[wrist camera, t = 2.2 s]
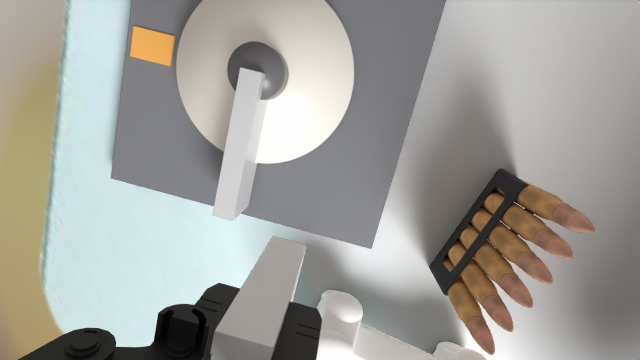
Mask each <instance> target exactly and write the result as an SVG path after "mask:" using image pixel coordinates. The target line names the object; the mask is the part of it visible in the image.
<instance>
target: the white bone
mask: <svg viewBox="0 0 640 360" xmlns="http://www.w3.org/2000/svg"><path fill="white" fill-rule="evenodd" d="M316 309H318V311H319V313H320V315H321V318H322V325H321V331H320V338H319V345H318V352H317V359H316V360H487V359H486V358H485V357H484V356H483V355H482V354H480V353H478V352H477V351H474V350H471V349H467V348H463V347H461V346H459V345H457V344H455V343H451V342H441V343H439V344H438V345H437V349H436V351H435V352H434V353H433V355H432V354H430V353H428V352H425V351H423V350H421V349H419V348H416V347H414V346H412V345H410V344H408V343H405V342H403V341H401V340H399V339H397V338H394V337H392V336H390V335H388V334H385V333H383V332H381V331H379V330H377V329H374V328H372V327H370V326H368V325H366V324H363V323H361V319H362V316H363V309H362V306H361V304H360V302H359V301H358V300H357V299H356V298H355V297H353V296H352V295H350V294H348V293H345V292H340V291H336V290H327V291H325V292H323V294H322V296H321V300H320V302H319V304H318V306H317V308H316Z"/></svg>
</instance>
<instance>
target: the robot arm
mask: <svg viewBox="0 0 640 360" xmlns="http://www.w3.org/2000/svg"><path fill="white" fill-rule="evenodd" d="M306 247H307V245H305V244H301V243H297V242H294V241H290V240H286V239H282V238H279V237H275V236H273V237H272V238H271V240H270V242H269V243H268V245H267V246H266V248H265V250H264V251H263V253H262V255H261V256H260V258H259V259H258V261H257V263H256V264H255V266H254V268H253V269H252V271H251V273H250V274H249V276H248V277H247V279H246V281H245V282H244V284H243V286H242V287H241V289H239V288H236V287H232V286H229V285H225V284H221V283H218V284H216V285H214V286H212V287H210V288H208V289H207V290H206V291H205V292H204V294H203V295H202V296H201V297H200V299H199V300H198V301H197V302H196V304H195V305H190V304H177V305H173V306H170V307H166V308H165V309H163V310H162V311H160V312H159V313H158V319H157V325H156V331H155V337H154V342H153V343H152V344H151V345H150V346H146V347H116V341H115V337H114V336H113V335H112V334H111V333H110V332H109V331H106V330H103V329H100V328H83V329H78V330H74V331H71V332H69V333H66V334H64V335H62V336H60V337H58V338H56V339H55V340H53V341H51V342H49V343H47V344H46V345H44V346H42V347H40V348H38V349H37V350H35V351H33V352H31V353H29V354H27V355H26V356H24V357H22V358H20V359H18V360H316V359H317V352H318V345H319V338H320V331H321V325H322V318H321V315H320V313H319V311H318V309H316V308H312V307H309V306H305V305H301V304H298V303H294V302H293V298H294V294H295V290H296V286H297V282H298V278H299V275H300V271H301V267H302V263H303V259H304V255H305V251H306Z"/></svg>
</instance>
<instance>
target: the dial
mask: <svg viewBox="0 0 640 360" xmlns="http://www.w3.org/2000/svg"><path fill="white" fill-rule="evenodd" d="M176 75H177V83H178V89H179V92H180V96H181V99H182V102H183V104H184V107H185V109H186V111H187V113H188V115H189V117H190V119H191V120H192V122H193V123H194V125H195V126H196V127H197V129H198V130H199V131H200V132H201V133H202V135H203V136H204V137H205V138H206V139H207V140H208V141H210V142H211V143H212V144H213V145H214V146H216V147H217V148H219V149H220V150H222V151H223V152H224V156H223V162H222V167H221V172H220V178H219V183H218V188H217V193H216V199H215V204H214V209H213V216H217V217H220V218H224V219H228V220H231V221H233V220H234V219H235V218H236V217H237V216H238V215H239V214H240V213H242V212H243V211H244V210H245V209H246V208H247V207H248V205H249V200H250V195H251V190H252V186H253V181H254V176H255V172H256V167H257V163H264V164H270V163H281V162H286V161H290V160H293V159H296V158H299V157H301V156H303V155H305V154H307V153H309V152H311V151H312V150H314V149H315V148H316V147H318V146H319V145H320V144H322V143H323V142H324V141H325V140H326V139H327V138H328V137H329V136H330V135H331V134H332V132H333V131H334V130H335V129H336V128H337V126H338V125H339V123H340V121H341V120H342V118H343V116H344V114H345V112H346V110H347V108H348V105H349V102H350V99H351V95H352V90H353V85H354V60H353V54H352V49H351V45H350V42H349V39H348V36H347V33H346V31H345V29H344V27H343V25H342V23H341V21H340V20H339V18H338V16H337V15H336V13H335V12H334V11H333V9H332V8H331V7H330V6H329V5H328V4H327V2H326V1H324V0H203V1H202V2H201V3H200V4H199V5H198V6H197V8H196V9H195V10H194V12H193V13H192V15H191V16H190V18H189V20H188V22H187V24H186V26H185V28H184V30H183V33H182V35H181V38H180V42H179V46H178V51H177V60H176Z"/></svg>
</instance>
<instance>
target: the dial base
mask: <svg viewBox="0 0 640 360" xmlns="http://www.w3.org/2000/svg"><path fill="white" fill-rule="evenodd" d="M202 1H203V0H132V3H131V12H130V20H129V29H128V37H127V45H126V54H125V62H124V71H123V79H122V87H121V96H120V104H119V113H118V121H117V129H116V138H115V146H114V155H113V163H112V172H111V178H112V179H115V180H119V181H123V182H126V183H130V184H134V185H137V186H141V187H145V188H149V189H152V190H156V191H160V192H163V193H167V194H171V195H174V196H178V197H182V198H185V199H189V200H193V201H196V202H200V203H204V204H208V205H211V206H214V204H215V199H216V193H217V188H218V183H219V178H220V172H221V167H222V162H223V156H224V152H223V151H222V150H220V149H219V148H217V147H216V146H214V145H213V144H212V143H211V142H210V141H208V140H207V139H206V138H205V137H204V136H203V135H202V133H201V132H200V131H199V130H198V129H197V127H196V126H195V125H194V123H193V122H192V120H191V119H190V117H189V115H188V113H187V111H186V109H185V107H184V104H183V102H182V99H181V96H180V92H179V89H178V83H177V75H176V60H177V51H178V46H179V42H180V38H181V35H182V33H183V30H184V28H185V26H186V24H187V22H188V20H189V18H190V16H191V15H192V13H193V12H194V10H195V9H196V8H197V6H198V5H199V4H200V3H201V2H202ZM324 1H326V2H327V4H328V5H329V6H330V7H331V8H332V9H333V11H334V12H335V13H336V15H337V16H338V18H339V20H340V21H341V23H342V25H343V27H344V29H345V31H346V33H347V36H348V39H349V42H350V45H351V49H352V54H353V60H354V85H353V90H352V95H351V99H350V102H349V105H348V108H347V110H346V112H345V114H344V116H343V118H342V120H341V121H340V123H339V125H338V126H337V128H336V129H335V130H334V131H333V132H332V134H331V135H330V136H329V137H328V138H327V139H326V140H325V141H324V142H323V143H322V144H320V145H319V146H318V147H316V148H315V149H314V150H312V151H311V152H309V153H307V154H305V155H303V156H301V157H299V158H296V159H293V160H290V161H286V162H281V163H270V164H264V163H257V167H256V172H255V176H254V181H253V186H252V190H251V195H250V200H249V205H248V207H247V208H246V209H245V210H244V211H243V212H242V213H241V214H244V215H248V216H252V217H255V218H259V219H263V220H267V221H270V222H274V223H278V224H281V225H285V226H289V227H292V228H296V229H300V230H303V231H307V232H311V233H314V234H318V235H322V236H326V237H329V238H333V239H337V240H340V241H344V242H348V243H351V244H355V245H359V246H362V247H366V248H370V249H371V248H372V245H373V242H374V238H375V235H376V232H377V228H378V225H379V222H380V218H381V215H382V212H383V208H384V205H385V202H386V198H387V195H388V192H389V188H390V185H391V182H392V178H393V175H394V172H395V168H396V165H397V162H398V158H399V155H400V152H401V148H402V145H403V142H404V138H405V135H406V132H407V128H408V125H409V122H410V118H411V115H412V112H413V108H414V105H415V102H416V98H417V95H418V92H419V88H420V85H421V82H422V78H423V75H424V72H425V69H426V65H427V62H428V59H429V55H430V52H431V49H432V45H433V42H434V39H435V35H436V32H437V29H438V25H439V22H440V19H441V15H442V12H443V9H444V5H445V2H446V0H324Z"/></svg>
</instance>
